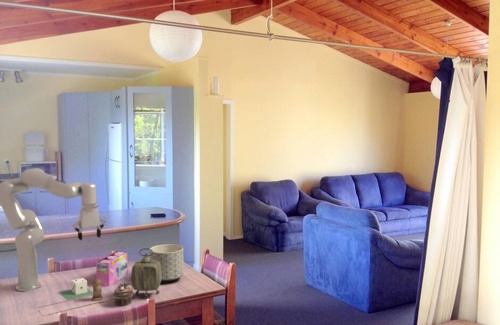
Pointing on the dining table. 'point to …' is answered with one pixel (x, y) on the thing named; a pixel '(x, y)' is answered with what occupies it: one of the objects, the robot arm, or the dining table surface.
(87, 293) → the dice mat
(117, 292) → the cupcake
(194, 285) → the dining table surface
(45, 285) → the dining table surface
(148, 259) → the tabletop clock
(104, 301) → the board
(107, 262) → the gum box
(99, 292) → the pawn
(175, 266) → the planter
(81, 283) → the die
